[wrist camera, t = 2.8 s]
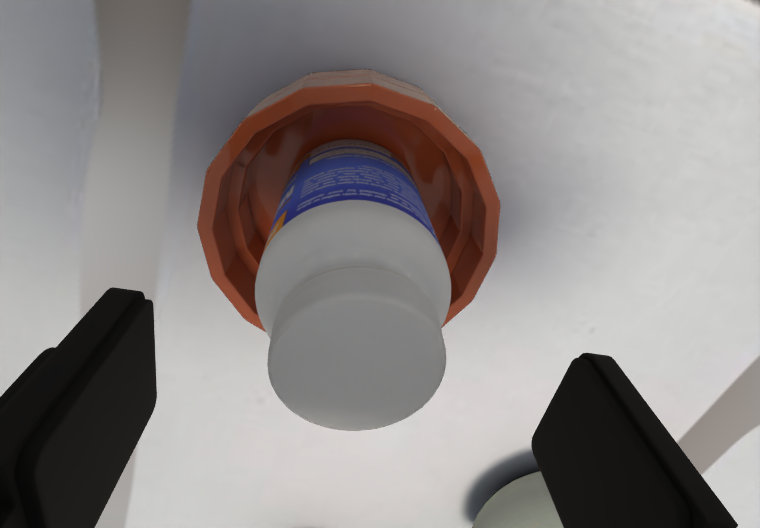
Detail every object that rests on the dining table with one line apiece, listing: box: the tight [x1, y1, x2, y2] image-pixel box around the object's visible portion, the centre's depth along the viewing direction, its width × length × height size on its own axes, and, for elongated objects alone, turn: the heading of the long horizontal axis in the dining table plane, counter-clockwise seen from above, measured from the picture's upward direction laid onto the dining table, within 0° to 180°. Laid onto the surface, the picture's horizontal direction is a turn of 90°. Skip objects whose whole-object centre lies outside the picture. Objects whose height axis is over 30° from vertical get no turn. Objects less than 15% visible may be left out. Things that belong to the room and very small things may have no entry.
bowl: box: [197, 69, 500, 332], centre depth 17 cm, size 10×10×4 cm
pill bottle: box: [255, 139, 451, 431], centre depth 14 cm, size 5×5×10 cm
